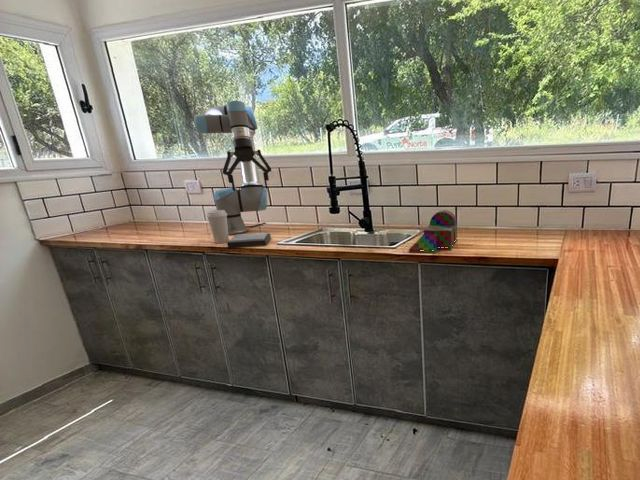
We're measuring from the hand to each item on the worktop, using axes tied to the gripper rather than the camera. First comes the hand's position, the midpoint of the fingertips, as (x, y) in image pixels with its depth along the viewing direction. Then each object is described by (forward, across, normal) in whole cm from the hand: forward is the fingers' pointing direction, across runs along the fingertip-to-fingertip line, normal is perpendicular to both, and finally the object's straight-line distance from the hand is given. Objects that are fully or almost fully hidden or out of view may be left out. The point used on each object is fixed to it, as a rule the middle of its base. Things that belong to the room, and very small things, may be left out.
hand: (250, 189), depth 198 cm
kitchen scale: (+22, -5, +18) cm, 29 cm away
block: (+35, +74, -25) cm, 85 cm away
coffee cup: (+20, -18, +27) cm, 38 cm away
